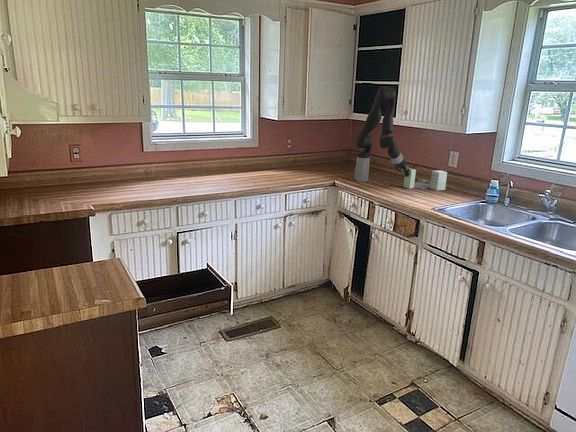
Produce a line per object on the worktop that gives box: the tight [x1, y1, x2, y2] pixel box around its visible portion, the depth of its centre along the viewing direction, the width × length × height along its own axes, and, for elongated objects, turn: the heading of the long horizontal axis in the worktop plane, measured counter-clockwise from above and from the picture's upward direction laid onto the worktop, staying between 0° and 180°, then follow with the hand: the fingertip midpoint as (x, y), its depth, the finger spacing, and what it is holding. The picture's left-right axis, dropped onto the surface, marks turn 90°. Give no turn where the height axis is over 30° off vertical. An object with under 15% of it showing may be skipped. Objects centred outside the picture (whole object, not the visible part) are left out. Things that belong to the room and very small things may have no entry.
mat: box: [403, 181, 431, 190], centre depth 317 cm, size 16×17×1 cm
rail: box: [417, 178, 431, 185], centre depth 322 cm, size 16×2×2 cm, turn 38°
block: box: [403, 168, 417, 190], centre depth 308 cm, size 5×5×13 cm
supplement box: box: [429, 169, 448, 191], centre depth 307 cm, size 7×7×13 cm
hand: (407, 175), depth 305 cm, fingers closed
